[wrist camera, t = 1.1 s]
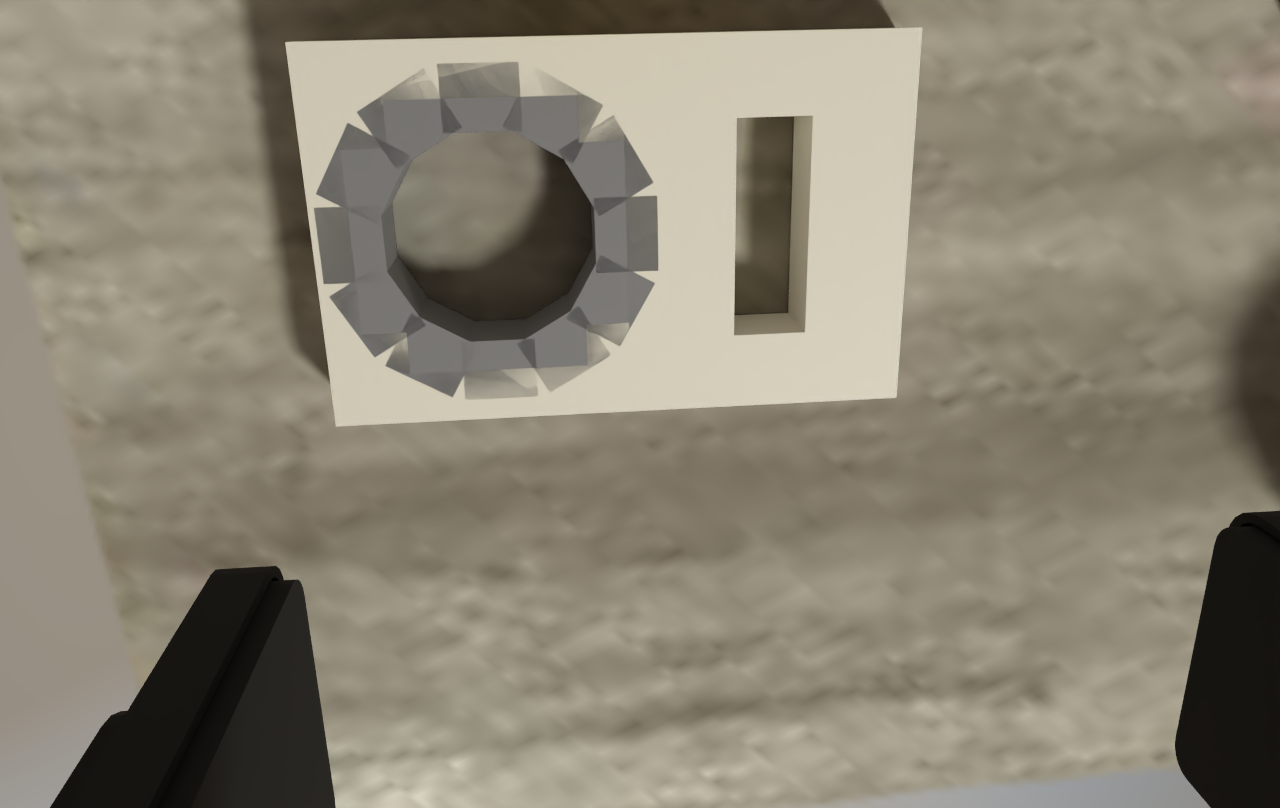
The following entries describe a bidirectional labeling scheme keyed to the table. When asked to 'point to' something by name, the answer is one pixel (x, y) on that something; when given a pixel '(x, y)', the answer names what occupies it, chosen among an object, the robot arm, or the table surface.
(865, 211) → the socket plate
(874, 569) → the table surface
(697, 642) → the table surface
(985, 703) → the table surface
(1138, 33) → the table surface
